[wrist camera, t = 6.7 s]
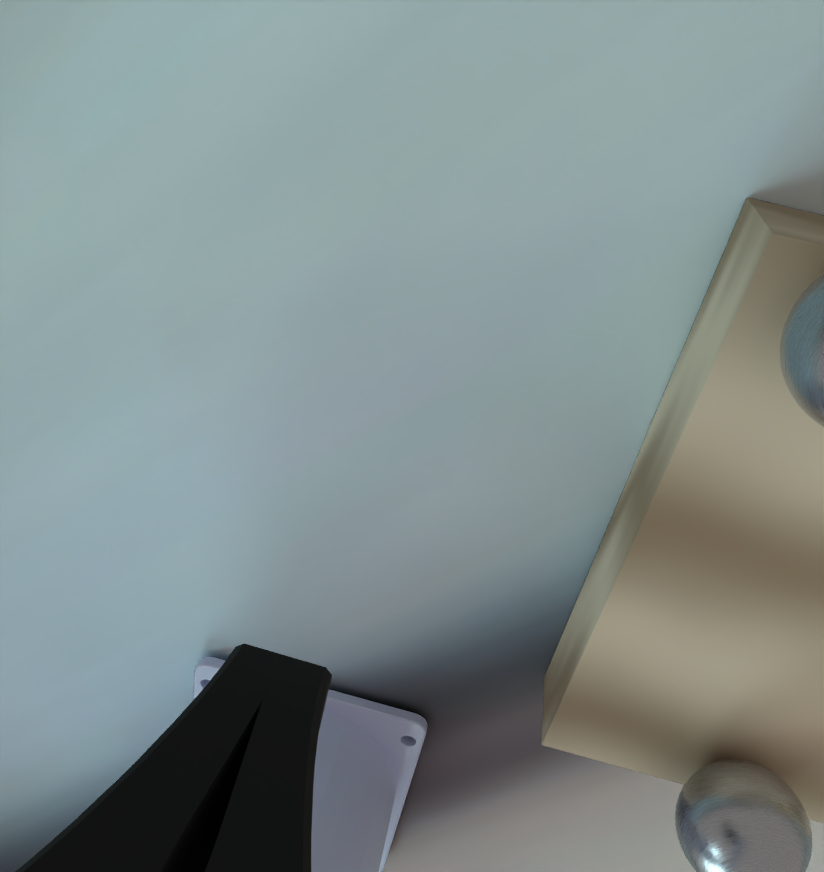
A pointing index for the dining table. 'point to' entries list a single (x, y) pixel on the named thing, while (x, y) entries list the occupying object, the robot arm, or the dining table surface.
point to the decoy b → (805, 351)
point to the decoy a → (742, 820)
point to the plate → (713, 550)
